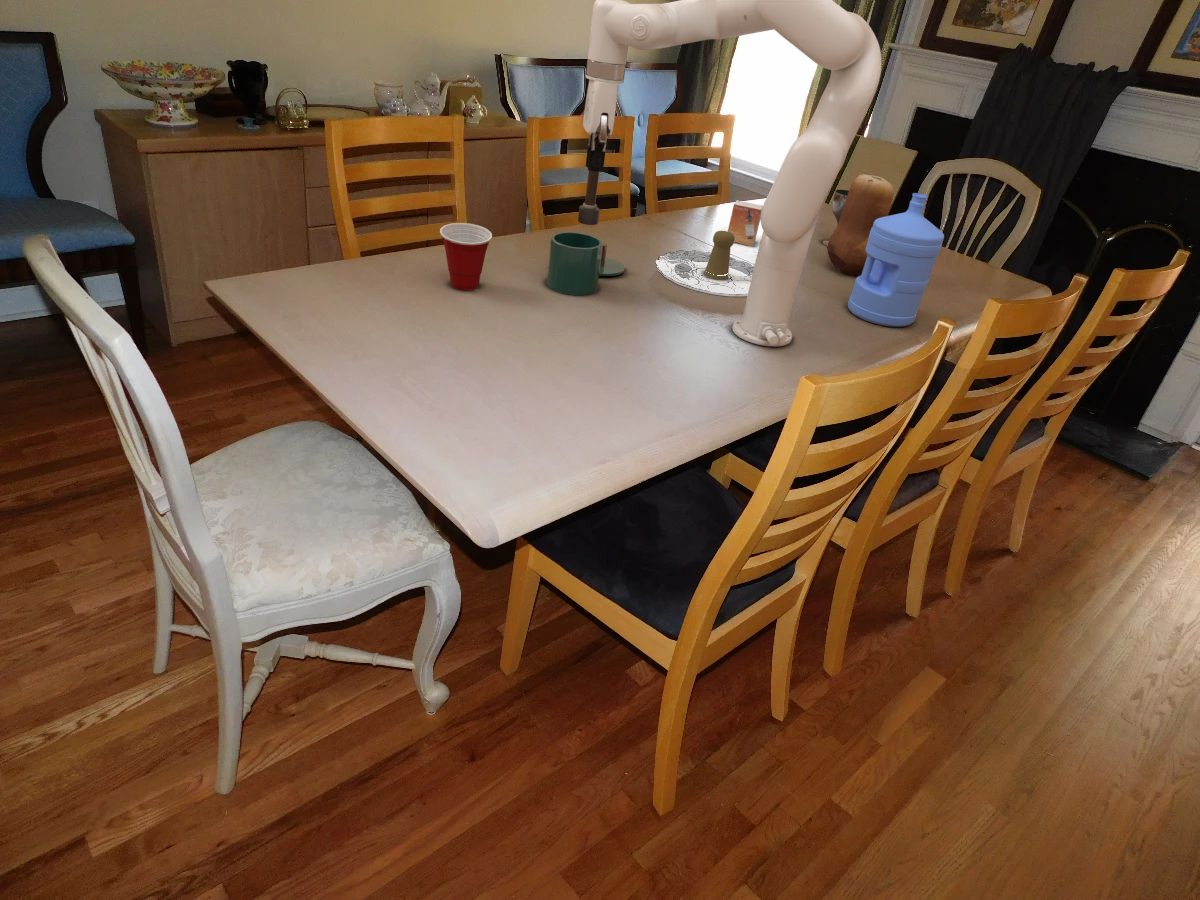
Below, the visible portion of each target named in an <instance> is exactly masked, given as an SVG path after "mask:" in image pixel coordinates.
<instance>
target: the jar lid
mask: <svg viewBox="0 0 1200 900" xmlns="http://www.w3.org/2000/svg"><path fill="white" fill-rule="evenodd" d="M607 248H608V243H606V242H603V248H602V256H601V264H600V272H599V277H615V276H619V275H621V274H623V273H624V272H625V268H626V267H625V265H624V264H623V263H621V262H620V261H618V260H616V259H613V258H610V257H606V256H607Z"/></svg>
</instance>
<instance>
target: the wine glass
mask: <svg viewBox="0 0 1200 900" xmlns="http://www.w3.org/2000/svg"><path fill="white" fill-rule="evenodd" d="M849 190H850V189H835V191H834V195H833V199H832V206H831V207H832V208H831V209H832V214H833V216H834V217H835V220H836V223H837V225H838V223H839V221H840V218H841V214H842V211H843V208H844V206H845V203H846V200H847V196H848V192H849ZM829 240H830V239H827V240H823V241H822V244H823V245H825V246H827V245H828V242H829Z"/></svg>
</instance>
